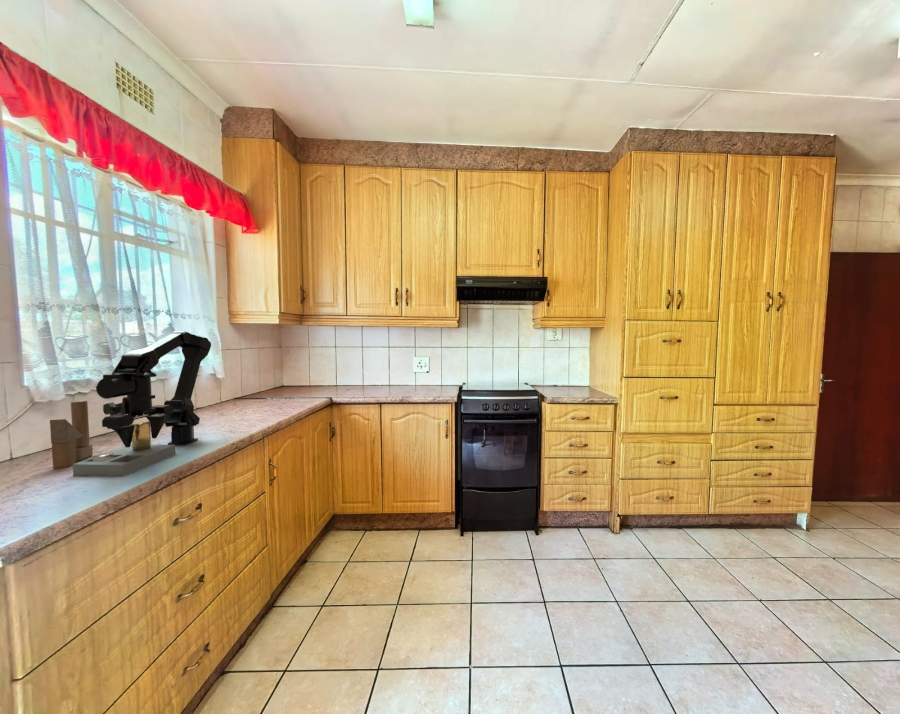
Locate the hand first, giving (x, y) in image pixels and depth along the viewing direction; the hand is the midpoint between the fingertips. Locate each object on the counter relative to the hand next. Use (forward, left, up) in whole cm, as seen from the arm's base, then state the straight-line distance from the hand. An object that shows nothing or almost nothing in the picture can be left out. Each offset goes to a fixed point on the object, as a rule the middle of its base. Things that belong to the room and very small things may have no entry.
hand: (141, 442), depth 110 cm
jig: (+5, 0, -5) cm, 7 cm away
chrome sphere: (+9, -4, -5) cm, 11 cm away
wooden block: (+4, -18, -5) cm, 19 cm away
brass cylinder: (0, 0, -2) cm, 2 cm away
